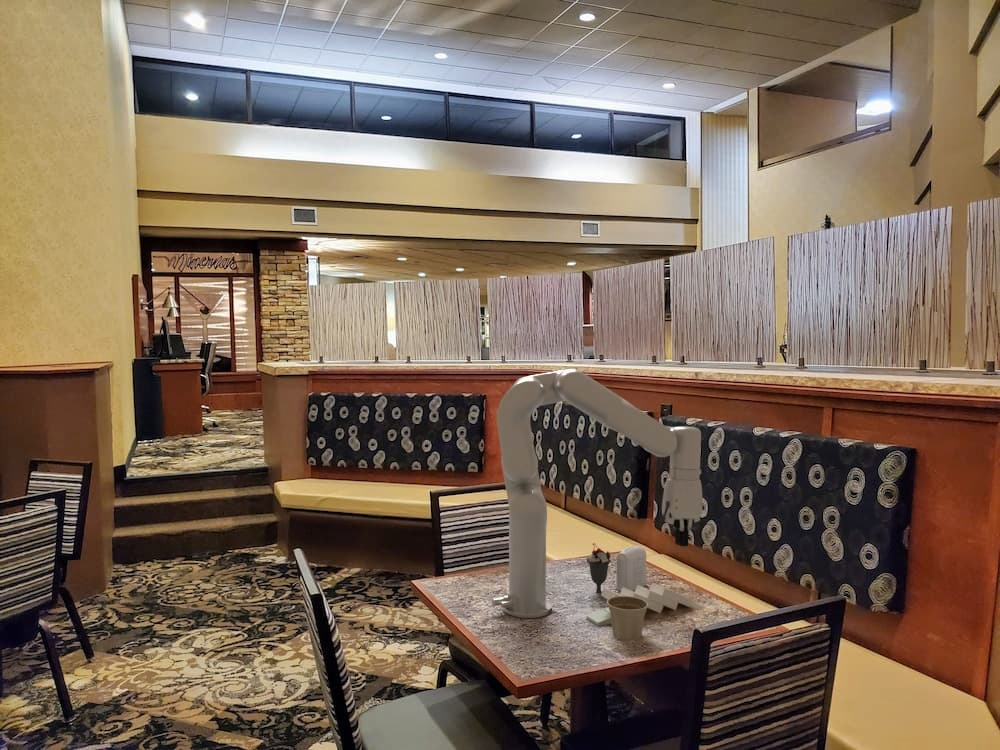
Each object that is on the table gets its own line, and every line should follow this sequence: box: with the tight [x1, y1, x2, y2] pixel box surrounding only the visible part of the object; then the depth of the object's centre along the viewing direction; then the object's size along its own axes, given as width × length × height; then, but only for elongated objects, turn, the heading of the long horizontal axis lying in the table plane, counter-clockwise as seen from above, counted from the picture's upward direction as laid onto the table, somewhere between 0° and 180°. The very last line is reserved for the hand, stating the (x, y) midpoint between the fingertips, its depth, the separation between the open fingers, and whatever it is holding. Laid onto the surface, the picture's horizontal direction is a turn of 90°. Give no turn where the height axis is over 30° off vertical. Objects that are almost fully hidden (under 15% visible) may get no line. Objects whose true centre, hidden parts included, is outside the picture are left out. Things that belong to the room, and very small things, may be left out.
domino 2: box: [619, 587, 663, 613], centre depth 169 cm, size 2×5×10 cm
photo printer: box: [616, 545, 647, 592], centre depth 189 cm, size 10×4×12 cm, turn 134°
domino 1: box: [600, 587, 622, 600], centre depth 167 cm, size 2×5×10 cm
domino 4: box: [648, 581, 693, 607], centre depth 173 cm, size 2×5×10 cm
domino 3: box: [634, 585, 678, 610], centre depth 171 cm, size 2×5×10 cm
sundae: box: [586, 542, 612, 595], centre depth 184 cm, size 7×7×15 cm
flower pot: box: [606, 596, 648, 642], centre depth 155 cm, size 9×9×9 cm
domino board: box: [644, 601, 706, 621], centre depth 172 cm, size 23×9×1 cm, turn 116°
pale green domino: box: [585, 606, 612, 627], centre depth 165 cm, size 2×5×10 cm
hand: (681, 544), depth 175 cm, fingers closed
